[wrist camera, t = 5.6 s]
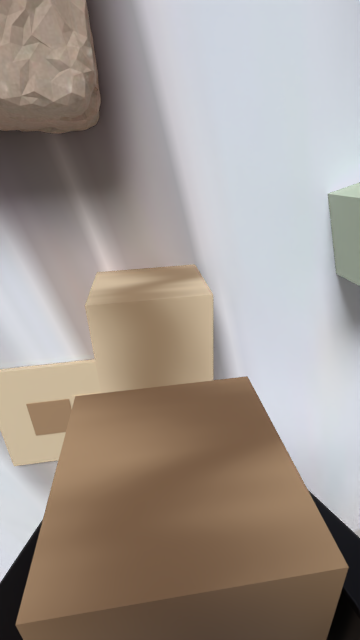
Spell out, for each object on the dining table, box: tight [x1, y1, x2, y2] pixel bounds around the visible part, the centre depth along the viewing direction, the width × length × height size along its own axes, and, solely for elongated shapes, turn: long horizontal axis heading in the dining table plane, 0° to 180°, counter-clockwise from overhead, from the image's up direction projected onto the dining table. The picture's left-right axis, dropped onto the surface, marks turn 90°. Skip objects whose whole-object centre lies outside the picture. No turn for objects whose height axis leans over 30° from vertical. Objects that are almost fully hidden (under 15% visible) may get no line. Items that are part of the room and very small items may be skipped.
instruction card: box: [0, 359, 101, 466], centre depth 20 cm, size 9×7×1 cm
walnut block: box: [15, 377, 349, 640], centre depth 7 cm, size 4×4×4 cm
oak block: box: [85, 265, 213, 393], centre depth 16 cm, size 5×5×4 cm
